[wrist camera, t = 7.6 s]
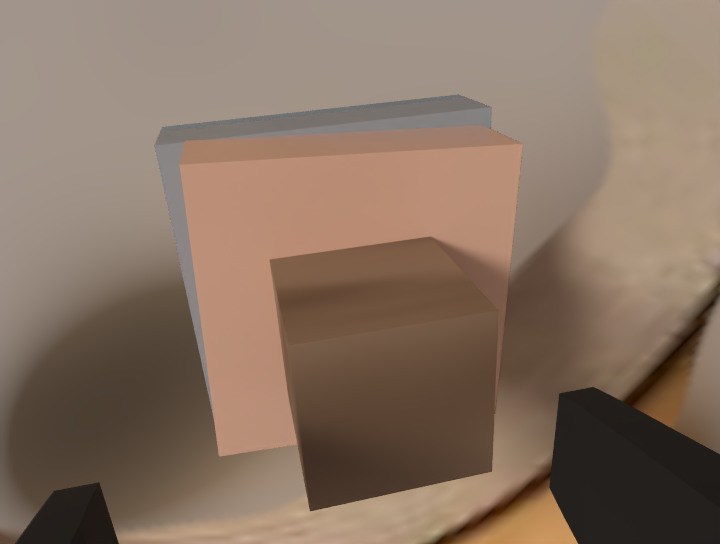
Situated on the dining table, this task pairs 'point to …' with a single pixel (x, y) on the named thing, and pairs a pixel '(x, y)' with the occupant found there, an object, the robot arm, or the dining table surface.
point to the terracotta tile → (329, 238)
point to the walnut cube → (386, 368)
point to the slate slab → (298, 123)
